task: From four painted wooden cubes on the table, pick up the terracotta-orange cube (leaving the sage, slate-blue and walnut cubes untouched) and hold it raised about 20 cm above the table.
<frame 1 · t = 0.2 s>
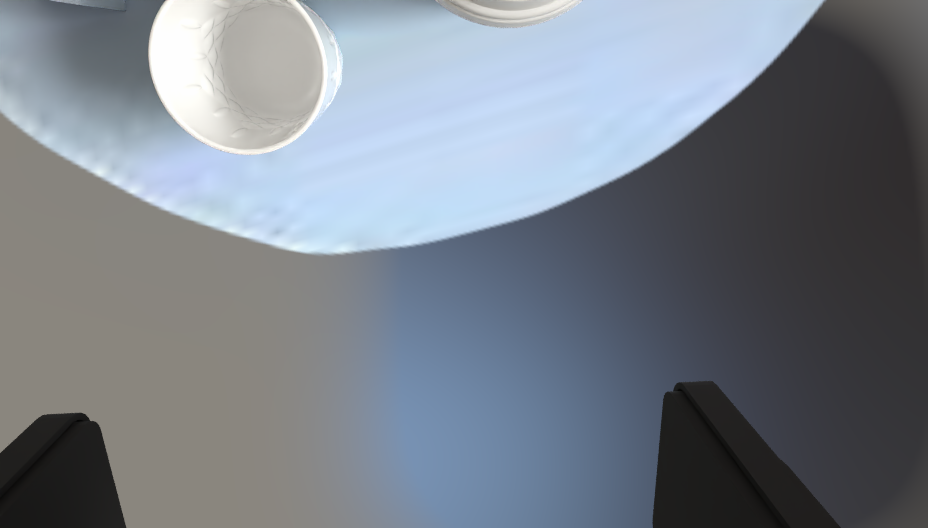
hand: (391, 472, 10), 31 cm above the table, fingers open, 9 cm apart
white cup: (288, 63, 37), on the table
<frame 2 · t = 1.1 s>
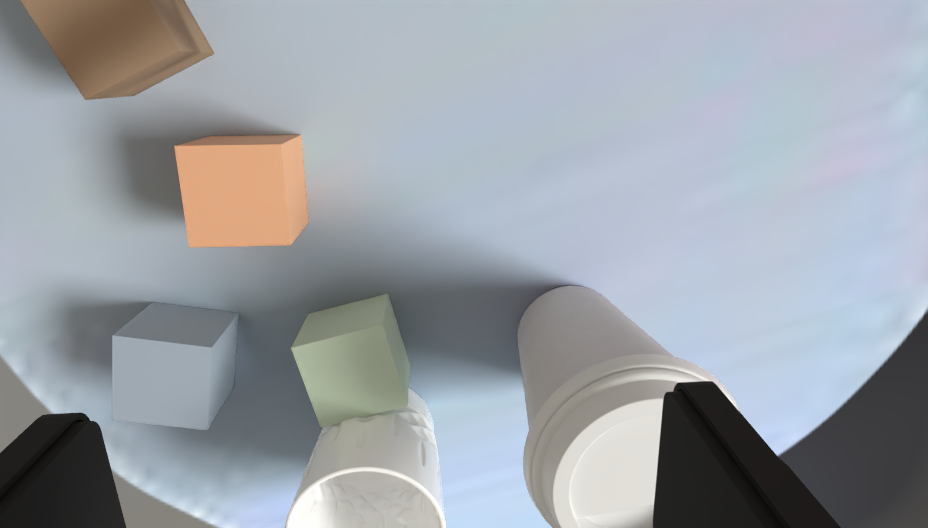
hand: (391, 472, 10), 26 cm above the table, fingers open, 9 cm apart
terracotta block: (260, 180, 35), on the table
white cup: (381, 424, 40), on the table, touching sage block
walnut block: (147, 29, 32), on the table
coffee cup: (567, 332, 39), on the table
slate block: (194, 344, 38), on the table
sage block: (360, 339, 38), on the table, touching white cup
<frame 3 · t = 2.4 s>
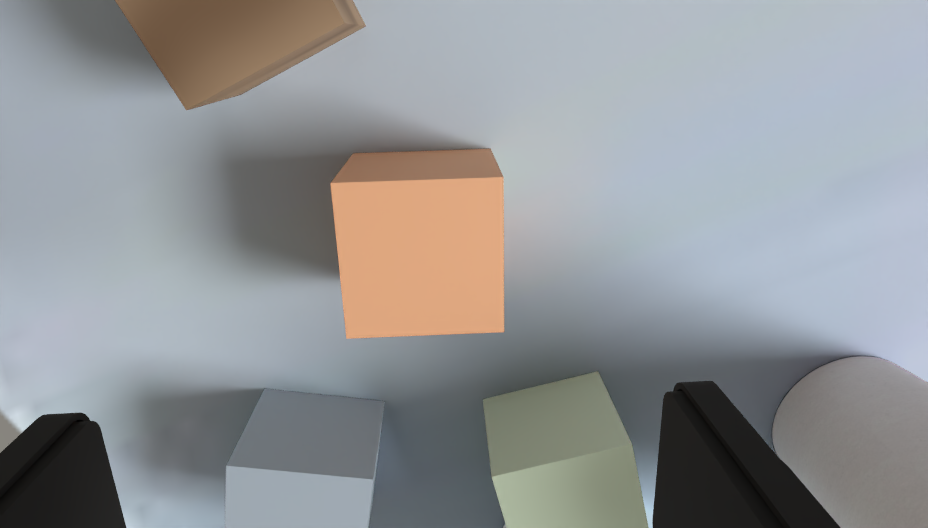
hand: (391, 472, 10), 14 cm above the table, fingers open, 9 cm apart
terracotta block: (425, 216, 23), on the table
coffee cup: (842, 418, 27), on the table
slate block: (321, 443, 27), on the table
sage block: (551, 432, 27), on the table
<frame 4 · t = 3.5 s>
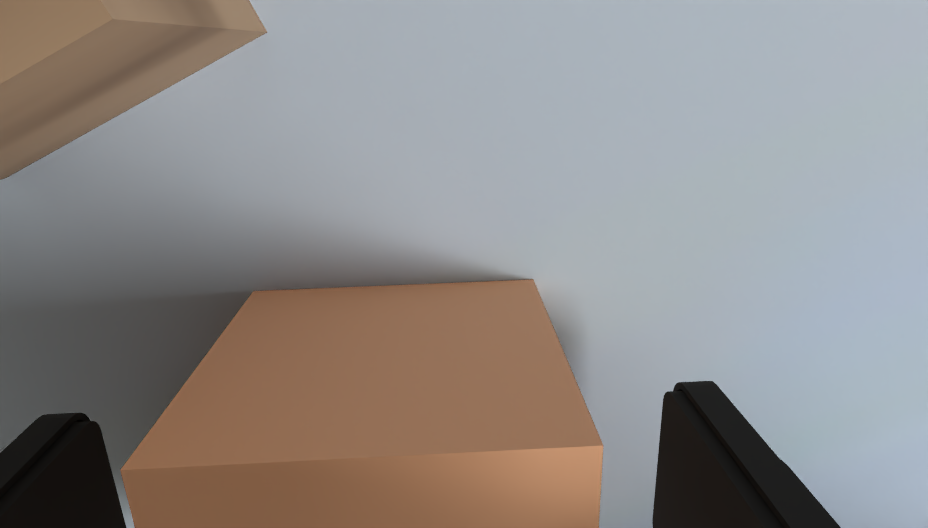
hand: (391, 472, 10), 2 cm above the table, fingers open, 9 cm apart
terracotta block: (402, 403, 12), on the table
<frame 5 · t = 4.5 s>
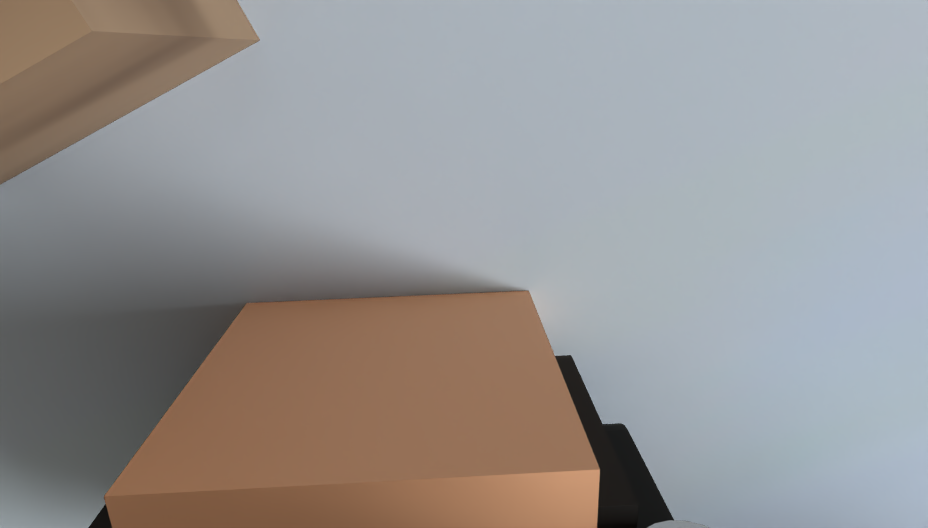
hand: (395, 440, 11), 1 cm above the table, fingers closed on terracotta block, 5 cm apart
terracotta block: (397, 417, 12), on the table, touching gripper
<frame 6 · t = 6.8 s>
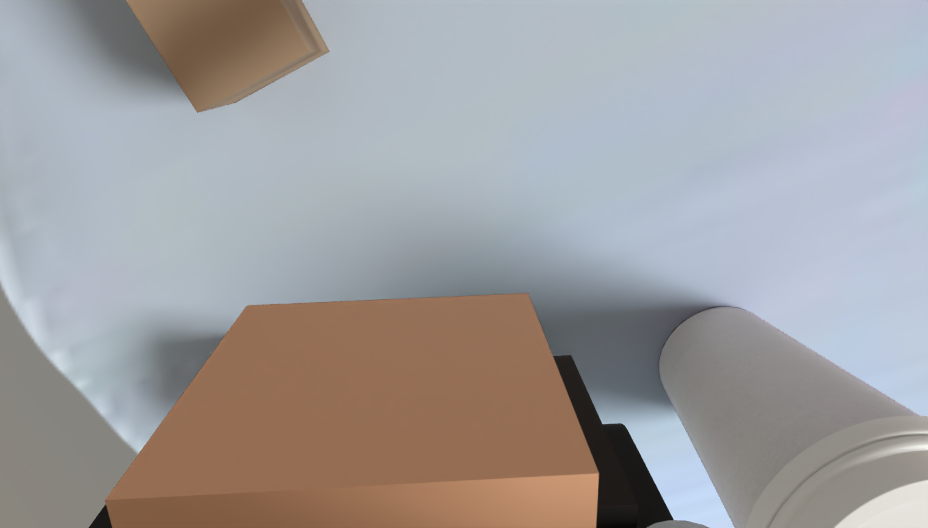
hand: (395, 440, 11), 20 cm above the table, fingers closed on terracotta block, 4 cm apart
terracotta block: (397, 420, 12), point 20 cm above the table, touching gripper
walnut block: (252, 25, 28), on the table
coffee cup: (714, 358, 34), on the table
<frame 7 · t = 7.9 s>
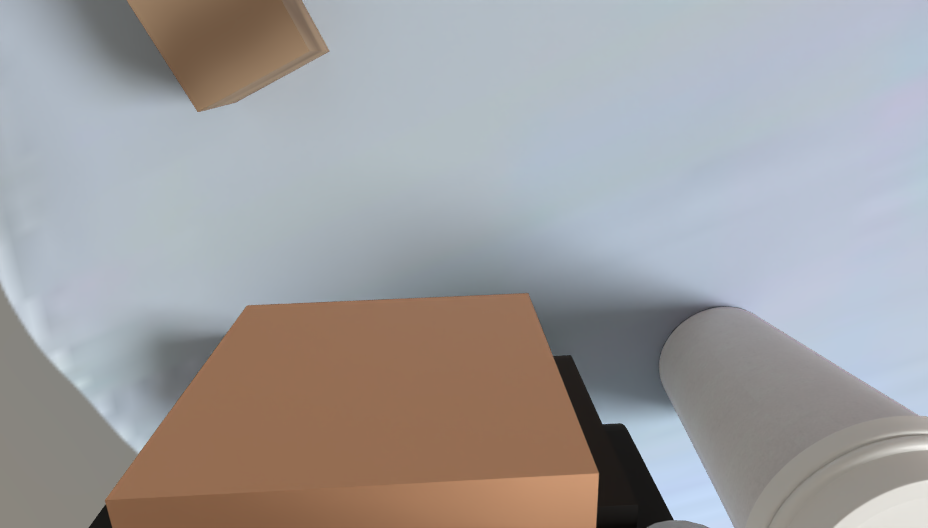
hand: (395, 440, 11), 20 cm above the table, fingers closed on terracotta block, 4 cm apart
terracotta block: (397, 420, 12), point 20 cm above the table, touching gripper
walnut block: (252, 25, 28), on the table
coffee cup: (714, 358, 34), on the table
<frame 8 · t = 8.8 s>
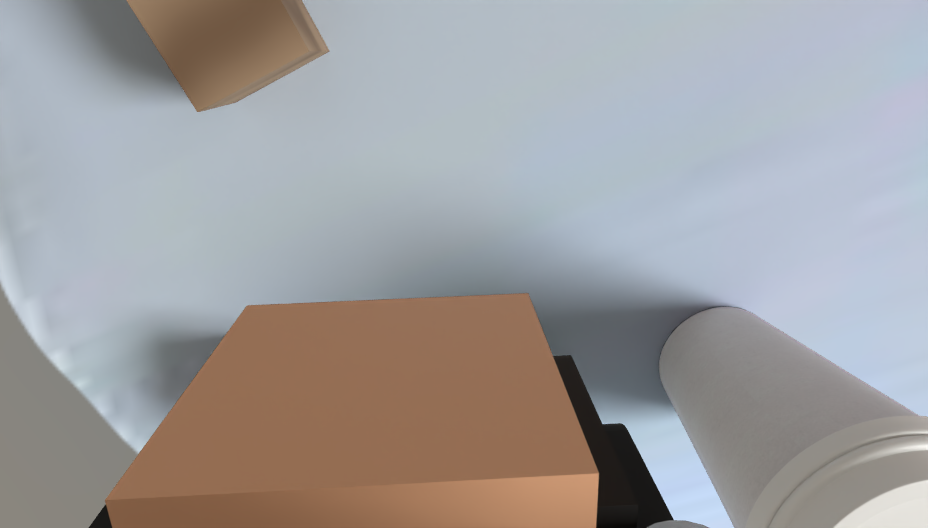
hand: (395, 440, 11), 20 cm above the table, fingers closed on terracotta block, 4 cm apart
terracotta block: (397, 420, 12), point 20 cm above the table, touching gripper
walnut block: (252, 25, 28), on the table
coffee cup: (714, 358, 34), on the table
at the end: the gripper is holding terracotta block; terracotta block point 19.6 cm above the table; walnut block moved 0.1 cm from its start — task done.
